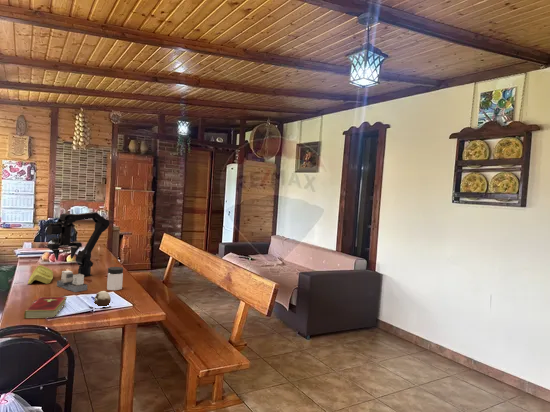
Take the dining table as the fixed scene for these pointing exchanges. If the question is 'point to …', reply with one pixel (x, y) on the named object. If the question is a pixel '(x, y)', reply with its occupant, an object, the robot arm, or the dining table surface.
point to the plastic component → (41, 275)
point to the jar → (115, 278)
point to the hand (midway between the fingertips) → (64, 259)
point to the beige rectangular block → (66, 276)
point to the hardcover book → (45, 307)
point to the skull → (102, 298)
